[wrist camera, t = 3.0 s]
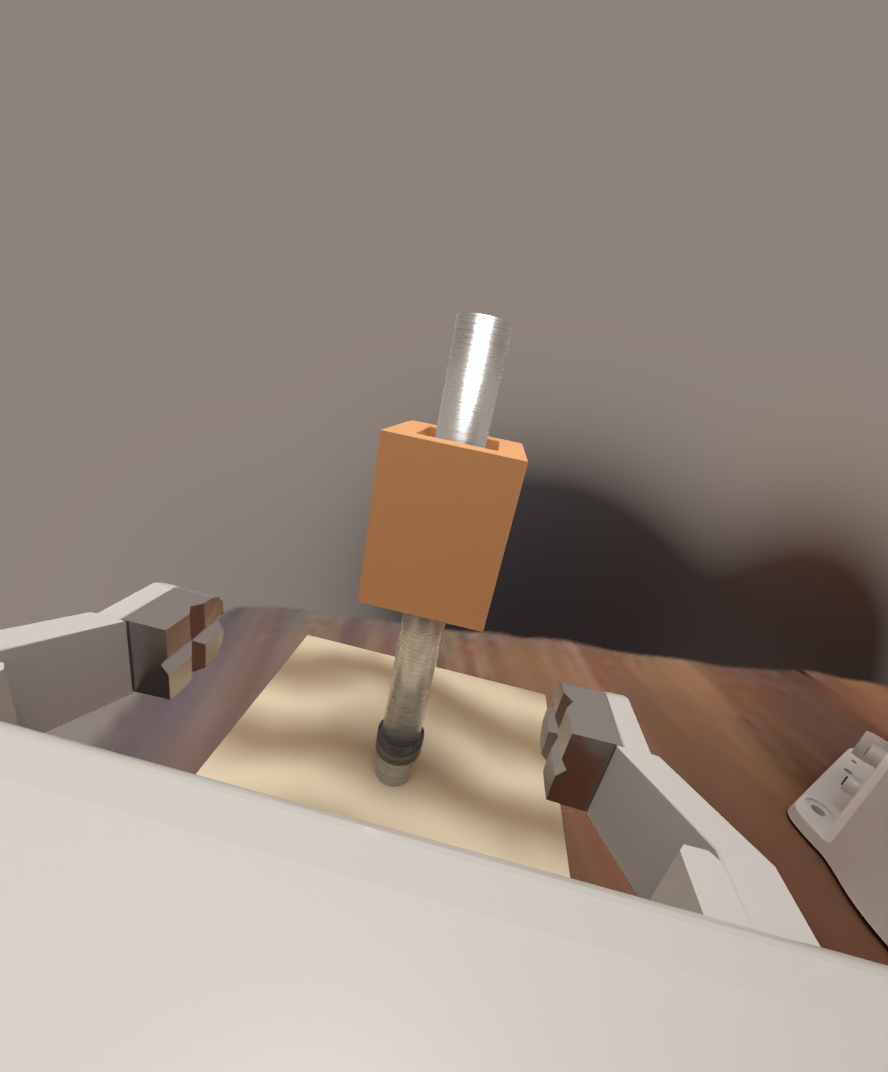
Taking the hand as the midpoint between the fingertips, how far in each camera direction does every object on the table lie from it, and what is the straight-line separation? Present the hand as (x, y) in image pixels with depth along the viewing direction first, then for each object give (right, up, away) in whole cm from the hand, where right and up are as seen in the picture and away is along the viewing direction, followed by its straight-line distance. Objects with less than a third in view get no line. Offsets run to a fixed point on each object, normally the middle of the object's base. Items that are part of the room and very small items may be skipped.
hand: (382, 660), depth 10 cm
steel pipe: (-2, -12, +17) cm, 21 cm away
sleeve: (+1, 0, +12) cm, 12 cm away
